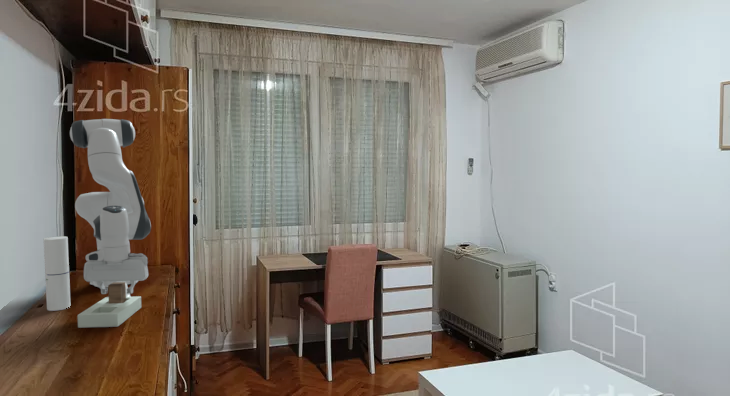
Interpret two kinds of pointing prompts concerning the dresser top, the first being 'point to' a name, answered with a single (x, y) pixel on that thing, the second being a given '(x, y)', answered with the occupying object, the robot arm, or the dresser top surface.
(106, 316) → the socket board
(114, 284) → the wood grain block
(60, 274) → the cylindrical container
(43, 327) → the dresser top surface
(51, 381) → the dresser top surface
